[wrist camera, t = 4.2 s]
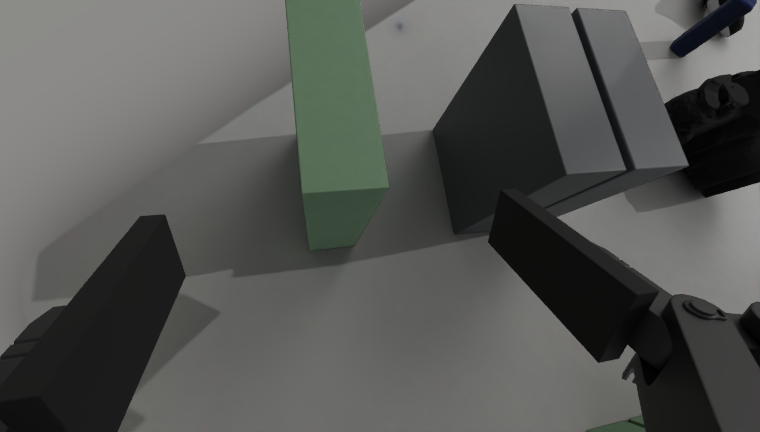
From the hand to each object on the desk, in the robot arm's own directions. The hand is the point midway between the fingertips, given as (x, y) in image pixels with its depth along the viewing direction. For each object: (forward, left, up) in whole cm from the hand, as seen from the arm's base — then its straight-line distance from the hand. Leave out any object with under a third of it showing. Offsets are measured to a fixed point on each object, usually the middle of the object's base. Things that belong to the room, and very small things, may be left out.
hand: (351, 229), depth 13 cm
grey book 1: (+11, +8, -12) cm, 18 cm away
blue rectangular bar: (+40, +29, -12) cm, 50 cm away
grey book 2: (+14, +9, -12) cm, 21 cm away
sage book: (-1, +6, -12) cm, 14 cm away
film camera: (+36, +14, -12) cm, 40 cm away
